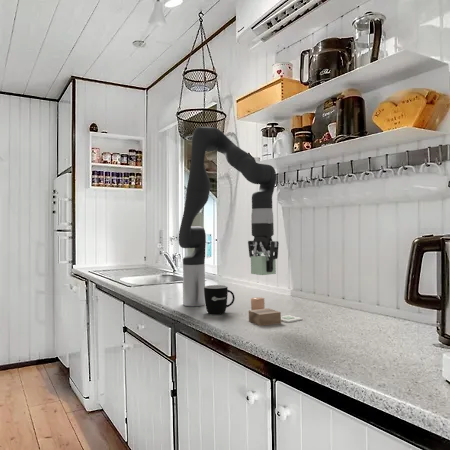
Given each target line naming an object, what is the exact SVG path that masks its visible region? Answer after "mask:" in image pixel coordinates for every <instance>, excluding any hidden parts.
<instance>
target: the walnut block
mask: <svg viewBox="0 0 450 450" xmlns="http://www.w3.org/2000/svg"><path fill="white" fill-rule="evenodd" d="M281 314H282V313H281V311H278V310H276V309H272V308H270V307H268V308H265V309H258V310H251V309H250V310H248V322H250V323H252V324H255V325H256V326H259V327H262V326H268V325H269V326H270V325H277V324H279V325H280V324H281V323H282V321H281V316H282V315H281Z"/></svg>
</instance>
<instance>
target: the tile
mask: <svg viewBox="0 0 450 450" xmlns="http://www.w3.org/2000/svg"><path fill="white" fill-rule="evenodd" d="M302 320H303V318H302V317H298V316H294V315H290V314H288V315H287V314H286V315H281V322H283V323H292V322H293V323H294V322H298V321H302Z"/></svg>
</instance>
